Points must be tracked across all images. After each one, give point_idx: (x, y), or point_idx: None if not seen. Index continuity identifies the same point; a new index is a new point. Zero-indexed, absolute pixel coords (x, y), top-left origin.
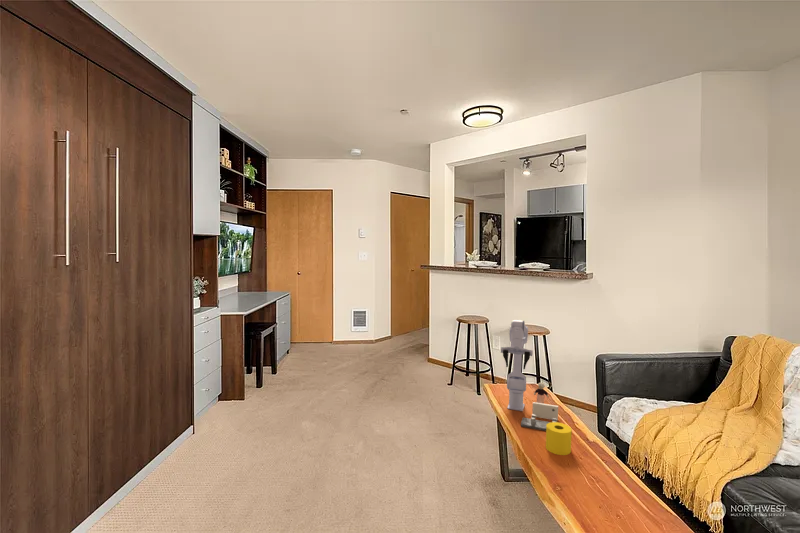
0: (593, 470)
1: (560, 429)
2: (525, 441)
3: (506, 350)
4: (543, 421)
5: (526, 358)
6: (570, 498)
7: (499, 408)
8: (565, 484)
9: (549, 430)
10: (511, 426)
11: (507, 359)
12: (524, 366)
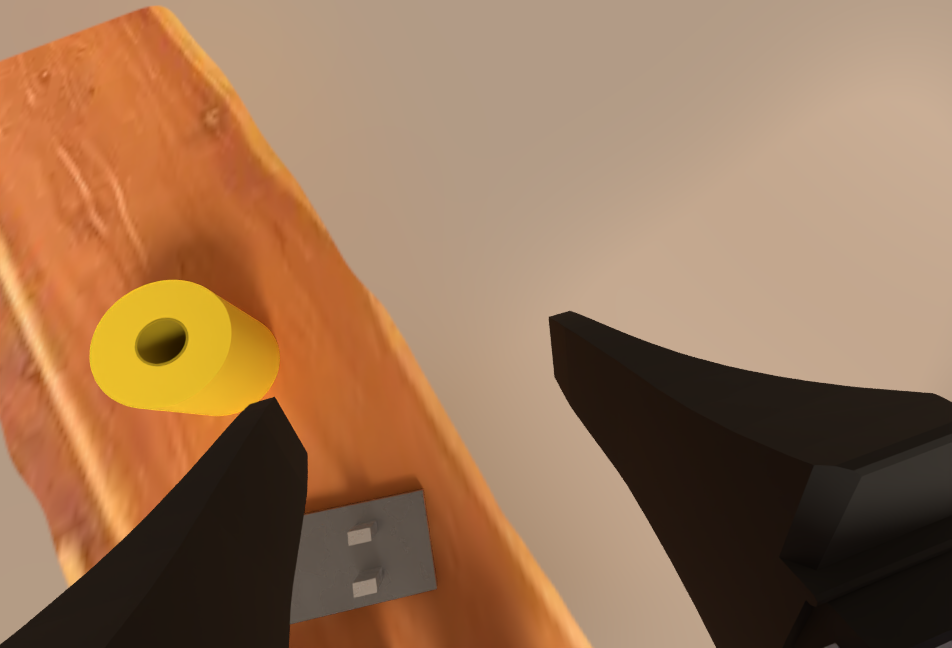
0: (88, 272)
1: (152, 320)
2: (366, 348)
3: (882, 439)
4: (319, 608)
5: (115, 560)
6: (174, 89)
7: None
8: (190, 144)
9: (214, 293)
10: (463, 459)
11: (613, 352)
12: (254, 405)
